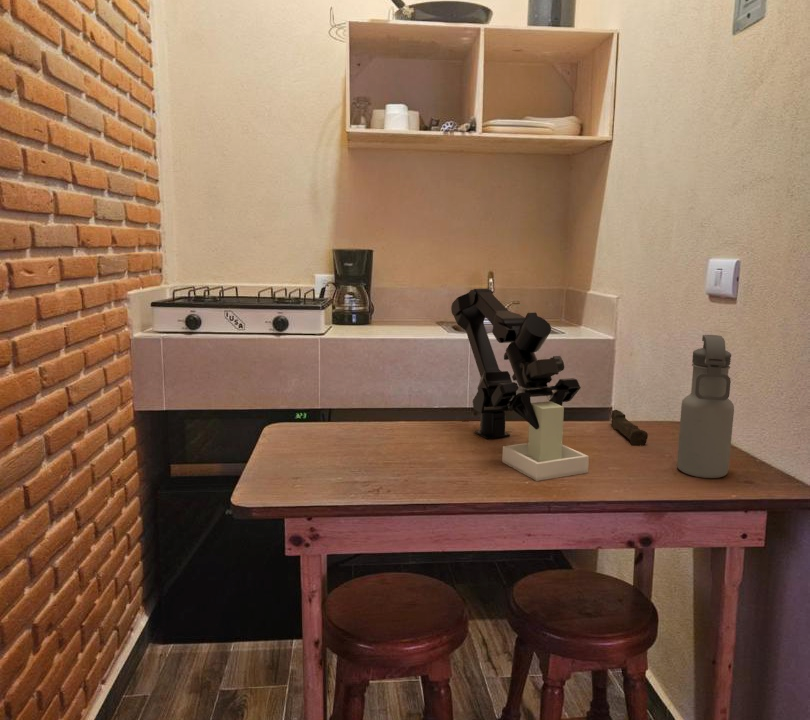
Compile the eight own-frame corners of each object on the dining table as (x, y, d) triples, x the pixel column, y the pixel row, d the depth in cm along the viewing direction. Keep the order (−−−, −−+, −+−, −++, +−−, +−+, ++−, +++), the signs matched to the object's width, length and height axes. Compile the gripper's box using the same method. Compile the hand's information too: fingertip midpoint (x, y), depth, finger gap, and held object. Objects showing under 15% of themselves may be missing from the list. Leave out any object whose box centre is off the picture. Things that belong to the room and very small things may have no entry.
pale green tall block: (527, 453, 141) (530, 403, 139) (548, 451, 143) (551, 401, 141) (539, 460, 136) (542, 408, 135) (561, 458, 138) (563, 406, 136)
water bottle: (732, 482, 132) (745, 341, 127) (678, 477, 134) (689, 339, 130) (723, 466, 141) (735, 334, 136) (674, 461, 144) (684, 332, 139)
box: (502, 462, 143) (502, 446, 143) (550, 454, 148) (551, 439, 148) (536, 481, 132) (537, 464, 131) (587, 472, 137) (588, 456, 136)
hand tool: (647, 447, 155) (649, 427, 155) (630, 446, 155) (631, 427, 155) (622, 425, 174) (624, 408, 173) (607, 425, 174) (608, 407, 173)
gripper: (499, 344, 136) (523, 410, 128) (578, 341, 142) (606, 403, 134) (481, 375, 145) (503, 438, 137) (556, 370, 151) (581, 430, 143)
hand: (549, 427), depth 137 cm, fingers closed on pale green tall block, 5 cm apart
